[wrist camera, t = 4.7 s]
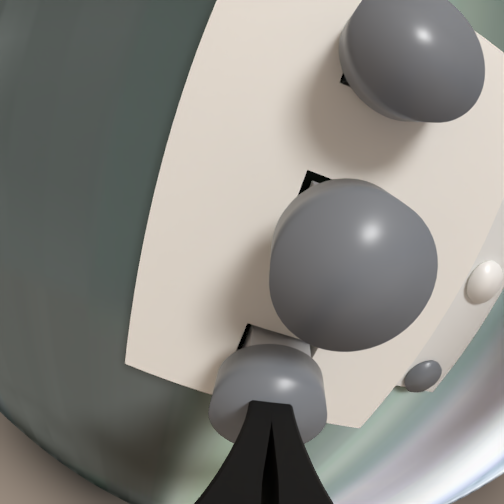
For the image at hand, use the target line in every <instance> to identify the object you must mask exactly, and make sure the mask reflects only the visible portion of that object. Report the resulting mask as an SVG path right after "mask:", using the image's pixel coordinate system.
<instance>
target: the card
mask: <svg viewBox="0 0 504 504" xmlns="http://www.w3.org/2000/svg"><path fill="white" fill-rule="evenodd" d="M503 288H504V198H503V200H502V203H501V205H500V208H499V210H498V212H497V215H496V217H495V220H494V222H493V224H492V226H491V229H490V231H489V233H488V235H487V237H486V240H485V242H484V244H483V246H482V248H481V250H480V252H479V254H478V256H477V258H476V260H475V262H474V264H473V266H472V268H471V270H470V272H469V273H468V275H467V277H466V279H465V281H464V283H463V284H462V286H461V288H460V290H459V292H458V293H457V295H456V297H455V299H454V300H453V302H452V304H451V305H450V307H449V309H448V310H447V312H446V314H445V315H444V317H443V318H442V320H441V322H440V323H439V325H438V326H437V328H436V329H435V331H434V332H433V334H432V336H431V337H430V339H429V340H428V342H427V343H426V344H425V346H424V347H423V349H422V350H421V352H420V353H419V355H418V356H417V357H416V359H415V360H414V362H413V363H412V364H411V366H410V367H409V368H408V370H407V371H406V373H405V374H404V375H403V376H402V378H401V379H400V380H399V382H398V383H397V384H396V385H397V386H402V387H406V389H407V390H408V391H410V392H421V391H430V392H433V391H434V390H435V388H436V387H437V386H438V385H439V384H440V382H441V381H442V380H443V378H444V377H445V376H446V375H447V373H448V372H449V371H450V369H451V368H452V367H453V365H454V364H455V363H456V361H457V360H458V359H459V357H460V356H461V355H462V353H463V352H464V350H465V349H466V347H467V346H468V345H469V343H470V342H471V340H472V339H473V337H474V336H475V334H476V333H477V331H478V330H479V328H480V327H481V325H482V323H483V322H484V320H485V319H486V317H487V316H488V314H489V312H490V311H491V309H492V307H493V306H494V304H495V302H496V300H497V299H498V297H499V295H500V293H501V292H502V290H503Z"/></svg>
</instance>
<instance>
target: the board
mask: <svg viewBox="0 0 504 504" xmlns="http://www.w3.org/2000/svg"><path fill="white" fill-rule="evenodd" d="M361 1H362V0H217V1H216V4H215V6H214V9H213V11H212V13H211V16H210V18H209V21H208V23H207V26H206V28H205V31H204V33H203V36H202V39H201V41H200V44H199V47H198V49H197V52H196V55H195V58H194V60H193V63H192V66H191V69H190V72H189V75H188V78H187V81H186V83H185V86H184V90H183V93H182V96H181V99H180V102H179V105H178V108H177V111H176V115H175V118H174V121H173V125H172V128H171V132H170V135H169V139H168V142H167V146H166V149H165V153H164V157H163V160H162V164H161V168H160V172H159V176H158V180H157V184H156V188H155V192H154V196H153V200H152V205H151V209H150V214H149V218H148V223H147V227H146V232H145V237H144V242H143V247H142V252H141V258H140V263H139V268H138V274H137V280H136V286H135V292H134V298H133V305H132V311H131V318H130V326H129V333H128V341H127V350H126V359H125V364H127V365H130V366H132V367H135V368H137V369H140V370H142V371H145V372H147V373H150V374H153V375H155V376H158V377H161V378H163V379H166V380H169V381H172V382H175V383H178V384H180V385H183V386H186V387H189V388H192V389H195V390H198V391H201V392H205V393H208V394H211V395H212V394H213V390H214V385H215V381H216V377H217V373H218V370H219V368H220V366H221V364H222V363H223V361H224V360H225V359H226V358H227V357H228V356H230V355H231V354H233V353H234V352H236V351H238V350H239V349H237V347H238V345H239V342H240V340H241V337H242V335H243V333H244V330H245V328H246V325H247V323H248V324H252V325H255V326H258V327H261V328H264V329H268V330H271V331H274V332H277V333H281V334H284V335H287V336H291V337H294V338H298V337H296V336H295V335H294V334H293V333H292V332H290V331H289V330H288V329H287V327H286V326H285V325H284V324H283V323H282V321H281V320H280V318H279V317H278V315H277V313H276V311H275V309H274V306H273V303H272V300H271V296H270V289H269V271H270V257H271V244H272V238H273V234H274V230H275V227H276V225H277V223H278V220H279V218H280V217H281V215H282V213H283V212H284V210H285V209H286V208H287V206H288V205H289V204H290V203H291V202H292V201H293V200H294V199H295V198H296V197H297V196H298V193H299V191H300V188H301V185H302V183H303V180H304V178H305V175H306V172H307V170H309V171H312V172H315V173H317V174H320V175H322V176H325V177H328V178H330V179H342V178H350V179H359V180H364V181H367V182H370V183H373V184H375V185H377V186H379V187H381V188H382V189H384V190H385V191H387V192H388V193H390V194H391V195H393V196H394V197H396V198H397V199H399V200H400V201H401V202H403V203H404V204H406V205H407V206H408V207H410V208H411V209H412V210H414V211H415V212H416V213H417V214H418V215H419V216H420V217H421V218H422V219H423V221H424V222H425V224H426V225H427V227H428V228H429V230H430V232H431V234H432V236H433V239H434V242H435V245H436V250H437V256H438V270H437V278H436V282H435V286H434V289H433V292H432V295H431V297H430V299H429V301H428V303H427V305H426V306H425V308H424V309H423V311H422V312H421V314H420V315H419V316H418V317H417V319H416V320H415V321H414V322H413V323H412V324H411V325H410V326H409V327H408V328H407V329H406V330H404V331H403V332H402V333H400V334H399V335H398V336H396V337H394V338H393V339H391V340H389V341H387V342H385V343H383V344H381V345H378V346H375V347H373V348H369V349H365V350H360V351H353V352H337V351H329V350H324V349H321V348H318V347H315V346H312V345H310V353H311V358H312V359H313V360H314V361H315V362H316V363H317V364H318V366H319V367H320V369H321V372H322V376H323V382H324V390H325V398H326V407H327V421H326V423H330V424H336V425H342V426H348V427H355V428H360V427H361V426H362V425H363V424H364V423H365V422H366V421H367V419H368V418H369V417H370V416H371V415H372V414H373V413H374V411H375V410H376V409H377V408H378V407H379V405H380V404H381V403H382V402H383V401H384V399H385V398H386V397H387V396H388V394H389V393H390V392H391V391H392V389H393V388H394V387H395V386H396V384H397V383H398V382H399V380H400V379H401V378H402V376H403V375H404V374H405V373H406V371H407V370H408V368H409V367H410V366H411V364H412V363H413V362H414V360H415V359H416V357H417V356H418V355H419V353H420V352H421V350H422V349H423V347H424V346H425V344H426V343H427V342H428V340H429V339H430V337H431V336H432V334H433V332H434V331H435V329H436V328H437V326H438V325H439V323H440V322H441V320H442V318H443V317H444V315H445V314H446V312H447V310H448V309H449V307H450V305H451V304H452V302H453V300H454V299H455V297H456V295H457V293H458V292H459V290H460V288H461V286H462V284H463V283H464V281H465V279H466V277H467V275H468V273H469V272H470V270H471V268H472V266H473V264H474V262H475V260H476V258H477V256H478V254H479V252H480V250H481V248H482V246H483V244H484V242H485V240H486V237H487V235H488V233H489V231H490V229H491V226H492V224H493V222H494V220H495V217H496V215H497V212H498V210H499V208H500V205H501V203H502V200H503V198H504V53H503V52H502V51H501V50H499V49H498V48H497V47H496V46H494V45H493V44H492V43H490V42H489V41H488V40H486V39H485V38H484V37H482V36H481V35H480V34H478V33H477V32H475V33H476V35H477V37H478V40H479V42H480V45H481V48H482V51H483V56H484V61H485V80H484V85H483V89H482V92H481V94H480V96H479V98H478V100H477V102H476V103H475V105H474V106H473V107H472V108H471V109H470V110H469V111H468V112H467V113H466V114H464V115H463V116H461V117H459V118H457V119H455V120H452V121H448V122H442V123H429V122H404V121H398V120H394V119H390V118H388V117H385V116H383V115H381V114H379V113H377V112H376V111H374V110H373V109H371V108H370V107H368V106H367V105H366V104H365V103H364V102H363V101H362V100H361V99H360V98H359V97H358V96H357V95H356V94H355V92H354V91H353V90H352V88H351V87H349V86H347V85H344V84H342V83H340V80H341V77H342V74H343V71H342V67H341V64H340V59H339V40H340V36H341V32H342V30H343V28H344V26H345V24H346V23H347V21H348V20H349V18H350V17H351V16H352V14H353V13H354V11H355V10H356V8H357V7H358V6H359V4H360V3H361ZM298 339H299V338H298Z"/></svg>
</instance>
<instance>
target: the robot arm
mask: <svg viewBox="0 0 504 504" xmlns="http://www.w3.org/2000/svg"><path fill="white" fill-rule="evenodd" d="M194 504H333V502H332V500H331V499H330V497H329V496H328V494H327V492H326V490H325V489H324V487H323V485H322V483H321V481H320V479H319V477H318V475H317V473H316V471H315V469H314V467H313V465H312V463H311V460H310V458H309V455H308V453H307V451H306V448H305V446H304V443H303V440H302V438H301V435H300V432H299V429H298V426H297V422H296V419H295V415H294V411H293V407H292V406H291V405H290V404H283V403H274V402H272V403H271V402H265V401H257V400H252V401H250V402H249V405H248V410H247V414H246V417H245V420H244V423H243V425H242V428H241V430H240V433H239V435H238V437H237V439H236V441H235V443H234V445H233V447H232V449H231V451H230V453H229V454H228V456H227V458H226V459H225V461H224V463H223V464H222V466H221V468H220V469H219V471H218V473H217V474H216V476H215V477H214V478H213V480H212V481H211V483H210V484H209V486H208V487H207V488H206V490H205V491H204V492H203V493H202V495H201V496H200V497H199V498H198V500H197V501H196V502H195V503H194Z"/></svg>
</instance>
